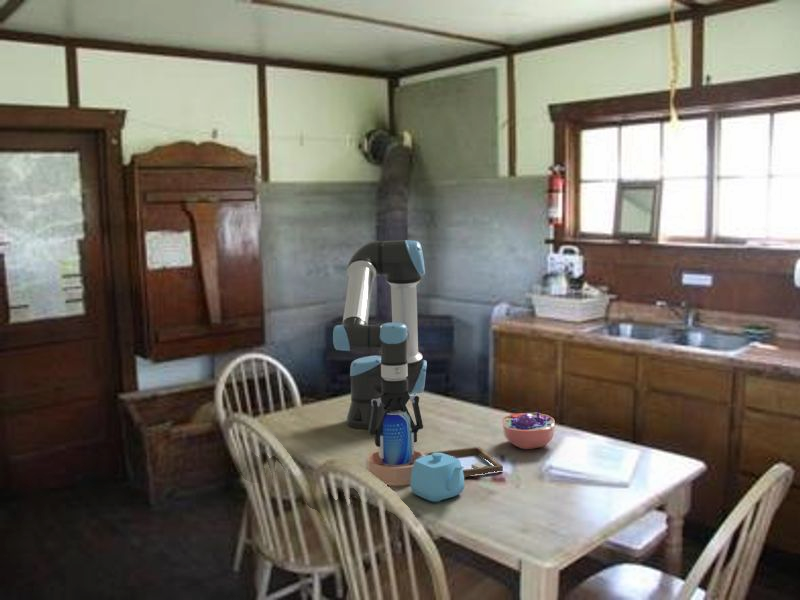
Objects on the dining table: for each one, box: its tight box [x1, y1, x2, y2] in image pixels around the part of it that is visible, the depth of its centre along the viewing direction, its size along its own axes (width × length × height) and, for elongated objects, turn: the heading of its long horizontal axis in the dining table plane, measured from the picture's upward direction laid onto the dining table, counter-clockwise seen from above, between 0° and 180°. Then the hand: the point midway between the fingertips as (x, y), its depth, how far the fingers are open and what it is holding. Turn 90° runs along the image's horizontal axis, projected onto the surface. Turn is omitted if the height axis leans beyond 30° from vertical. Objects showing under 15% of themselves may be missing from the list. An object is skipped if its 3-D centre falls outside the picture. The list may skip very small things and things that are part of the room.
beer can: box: [381, 410, 411, 467], centre depth 219 cm, size 8×8×16 cm
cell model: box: [501, 411, 556, 450], centre depth 241 cm, size 17×20×11 cm
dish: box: [365, 448, 426, 487], centre depth 220 cm, size 18×18×5 cm
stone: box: [471, 461, 488, 469], centre depth 221 cm, size 4×3×2 cm
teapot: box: [410, 453, 466, 503], centre depth 203 cm, size 12×18×12 cm
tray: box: [423, 446, 504, 479], centre depth 225 cm, size 18×18×2 cm
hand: (396, 455), depth 219 cm, fingers closed on beer can, 8 cm apart
